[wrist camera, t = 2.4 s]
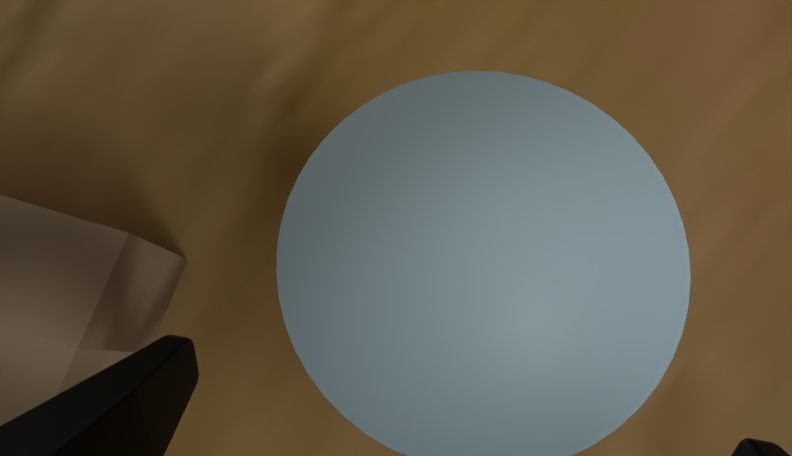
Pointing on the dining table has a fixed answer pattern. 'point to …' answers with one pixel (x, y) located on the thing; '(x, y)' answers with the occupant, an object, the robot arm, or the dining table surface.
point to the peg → (483, 269)
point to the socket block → (72, 300)
